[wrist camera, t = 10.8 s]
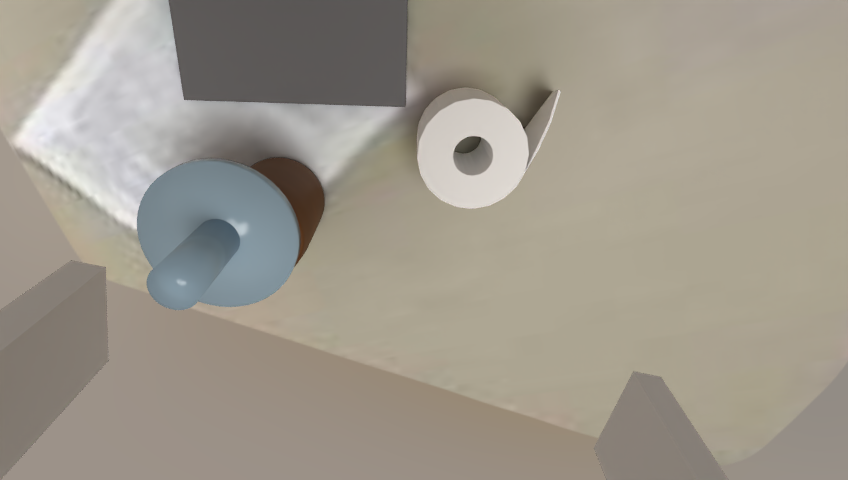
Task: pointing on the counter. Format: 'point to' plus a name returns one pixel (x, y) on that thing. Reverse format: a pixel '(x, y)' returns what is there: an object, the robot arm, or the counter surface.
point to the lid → (216, 235)
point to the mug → (297, 193)
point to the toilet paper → (493, 158)
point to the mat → (292, 51)
